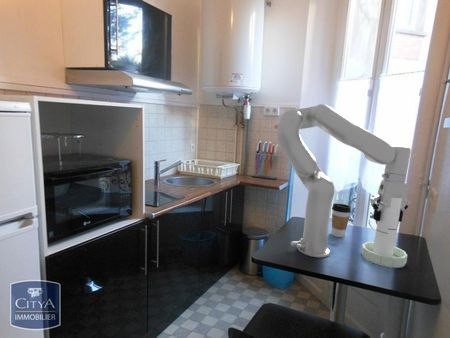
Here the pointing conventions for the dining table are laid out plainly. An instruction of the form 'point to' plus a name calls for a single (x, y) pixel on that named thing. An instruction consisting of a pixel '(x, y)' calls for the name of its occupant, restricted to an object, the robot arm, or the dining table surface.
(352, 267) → the dining table surface
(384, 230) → the cylindrical container
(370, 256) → the dish
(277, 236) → the dining table surface
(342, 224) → the coffee cup
